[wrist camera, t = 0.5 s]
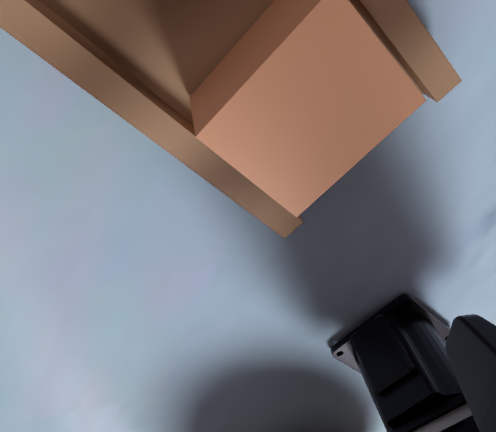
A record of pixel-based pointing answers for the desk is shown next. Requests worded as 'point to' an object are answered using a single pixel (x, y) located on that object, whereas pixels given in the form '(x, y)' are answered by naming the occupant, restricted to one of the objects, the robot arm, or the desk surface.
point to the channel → (191, 66)
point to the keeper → (302, 99)
